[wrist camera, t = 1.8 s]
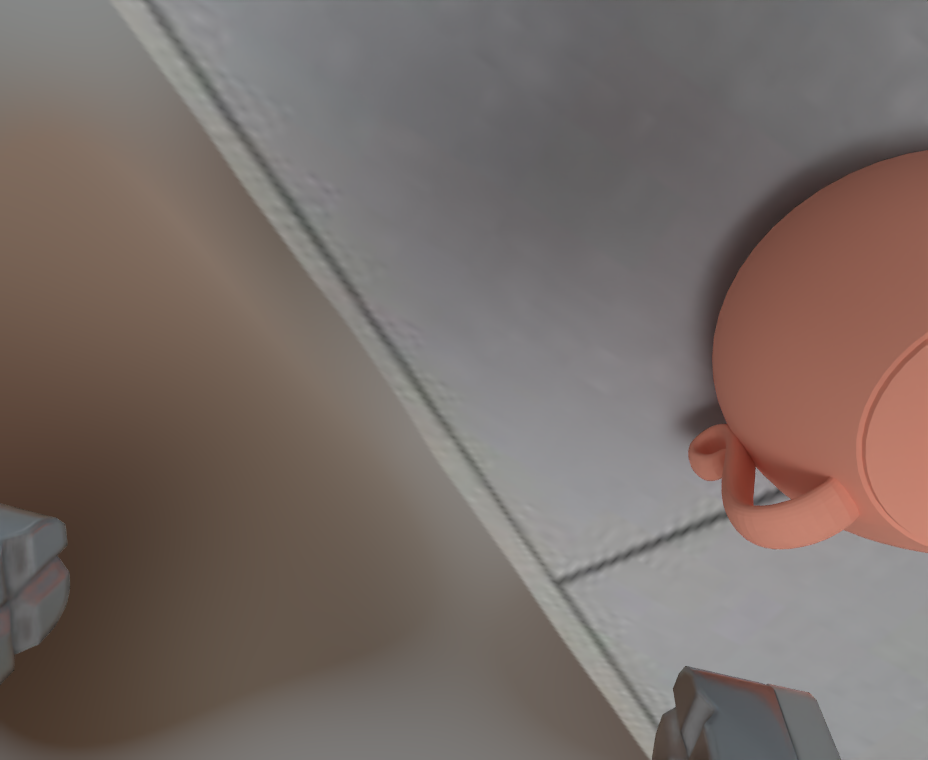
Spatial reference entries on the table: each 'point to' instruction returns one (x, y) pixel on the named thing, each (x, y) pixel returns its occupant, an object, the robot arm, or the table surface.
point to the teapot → (829, 368)
